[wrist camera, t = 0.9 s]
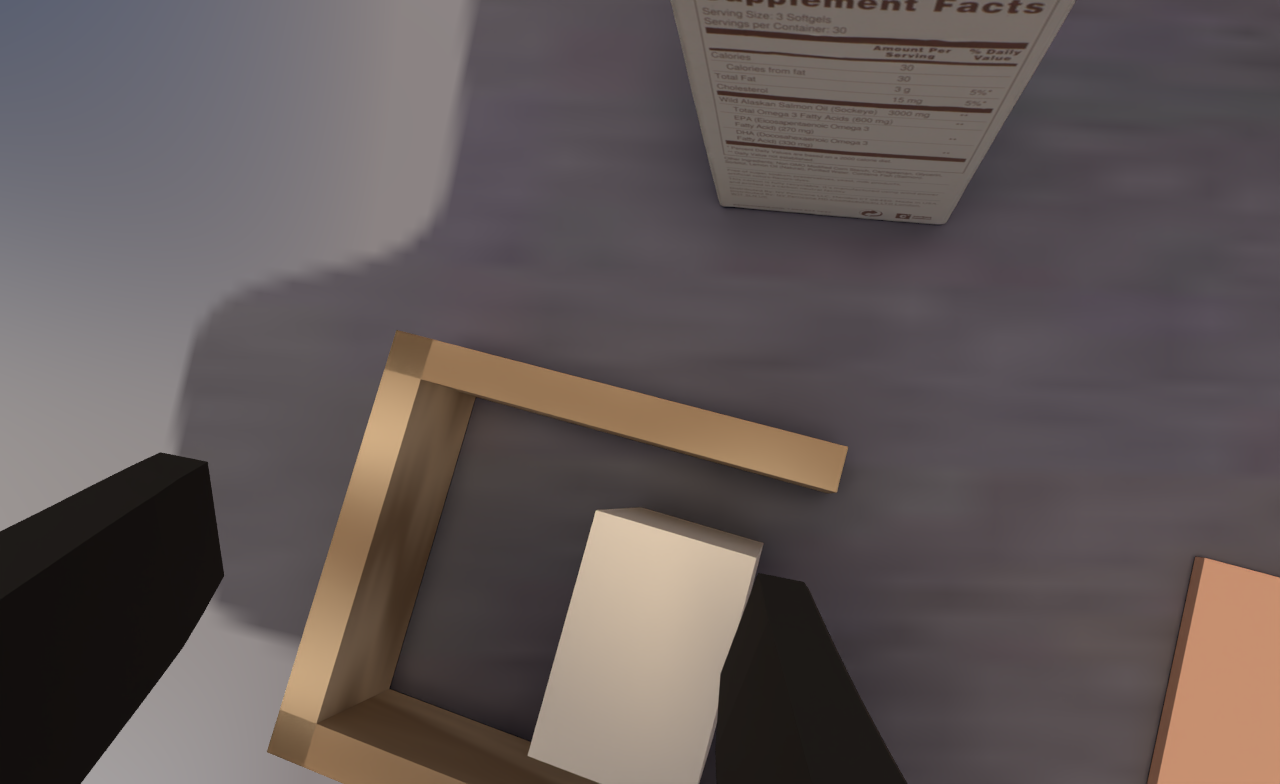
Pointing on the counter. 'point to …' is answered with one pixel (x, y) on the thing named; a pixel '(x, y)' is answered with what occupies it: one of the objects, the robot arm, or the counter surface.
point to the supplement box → (857, 97)
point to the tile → (1223, 682)
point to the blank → (644, 649)
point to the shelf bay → (401, 542)
